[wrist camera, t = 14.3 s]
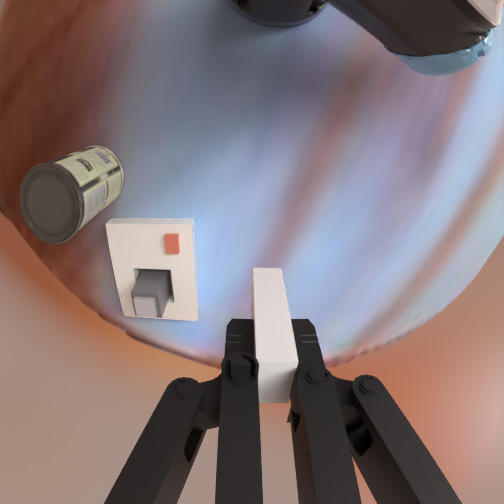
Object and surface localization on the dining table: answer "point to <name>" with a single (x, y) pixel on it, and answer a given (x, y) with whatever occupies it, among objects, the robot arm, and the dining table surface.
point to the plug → (151, 293)
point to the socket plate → (156, 260)
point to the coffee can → (69, 192)
